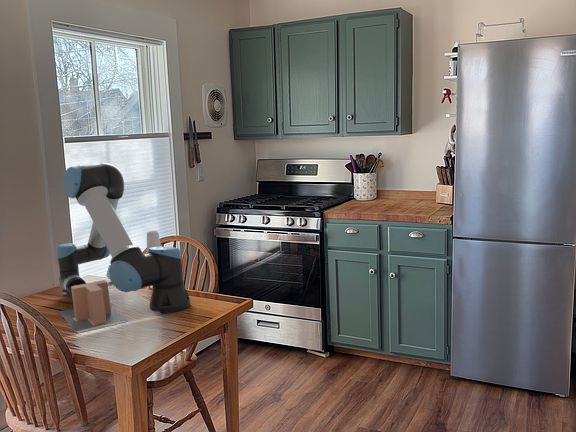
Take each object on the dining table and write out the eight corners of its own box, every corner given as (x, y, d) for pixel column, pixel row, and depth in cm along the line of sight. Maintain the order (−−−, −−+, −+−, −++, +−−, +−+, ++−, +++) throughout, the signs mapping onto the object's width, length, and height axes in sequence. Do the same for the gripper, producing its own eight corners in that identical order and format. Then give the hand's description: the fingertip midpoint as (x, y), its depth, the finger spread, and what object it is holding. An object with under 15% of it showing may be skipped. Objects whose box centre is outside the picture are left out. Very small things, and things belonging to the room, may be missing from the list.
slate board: (59, 314, 220) (58, 311, 219) (106, 304, 229) (106, 301, 229) (75, 334, 196) (74, 331, 196) (127, 321, 205) (127, 319, 205)
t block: (75, 318, 210) (70, 286, 208) (108, 311, 216) (104, 280, 214) (83, 327, 199) (78, 294, 197) (118, 319, 205) (114, 287, 203)
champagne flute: (166, 286, 248) (160, 232, 244) (150, 289, 246) (144, 233, 243) (165, 283, 255) (159, 229, 251) (149, 285, 253) (143, 231, 249)
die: (124, 278, 270) (109, 263, 268) (133, 271, 265) (118, 256, 263) (114, 289, 264) (98, 274, 262) (123, 282, 258) (108, 266, 257)
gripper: (93, 291, 236) (108, 304, 216) (59, 298, 229) (72, 312, 209) (90, 273, 235) (106, 285, 215) (57, 280, 228) (69, 292, 208)
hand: (89, 298), depth 212 cm, fingers closed
